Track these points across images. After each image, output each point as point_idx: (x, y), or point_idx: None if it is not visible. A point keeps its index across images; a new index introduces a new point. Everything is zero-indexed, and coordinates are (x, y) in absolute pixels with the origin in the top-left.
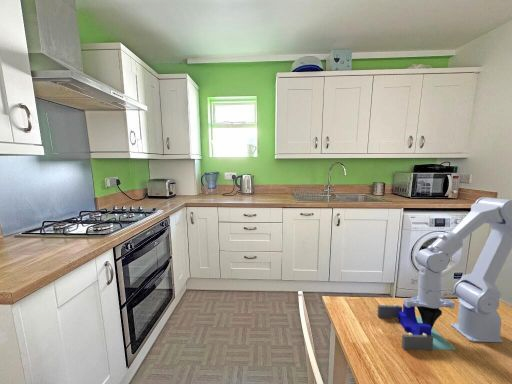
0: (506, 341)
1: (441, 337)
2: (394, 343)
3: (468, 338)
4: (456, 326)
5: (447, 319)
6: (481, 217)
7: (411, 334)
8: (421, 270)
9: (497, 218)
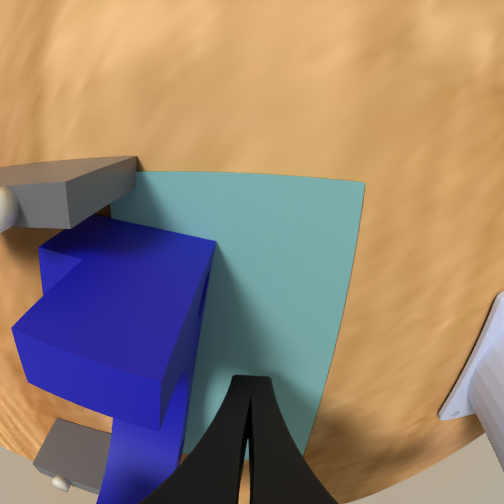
0: None
1: (309, 408)
2: (33, 396)
3: (443, 413)
4: (502, 326)
5: None
6: None
7: (62, 490)
8: None
9: None
